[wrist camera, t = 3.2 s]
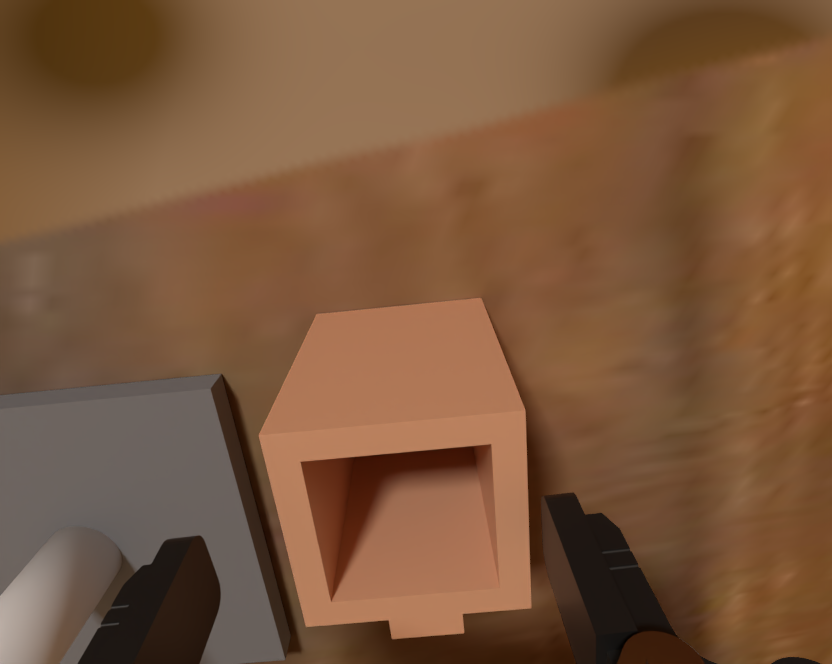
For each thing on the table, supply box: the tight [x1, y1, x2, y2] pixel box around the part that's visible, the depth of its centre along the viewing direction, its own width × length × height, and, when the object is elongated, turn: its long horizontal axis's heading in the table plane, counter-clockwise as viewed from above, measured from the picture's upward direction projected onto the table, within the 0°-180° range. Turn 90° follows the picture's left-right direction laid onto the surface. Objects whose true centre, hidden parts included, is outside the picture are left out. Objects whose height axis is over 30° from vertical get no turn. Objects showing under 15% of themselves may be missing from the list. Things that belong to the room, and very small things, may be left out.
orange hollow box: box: [259, 298, 531, 639], centre depth 17 cm, size 6×10×8 cm, turn 6°
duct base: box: [0, 374, 291, 664], centre depth 19 cm, size 14×14×8 cm
